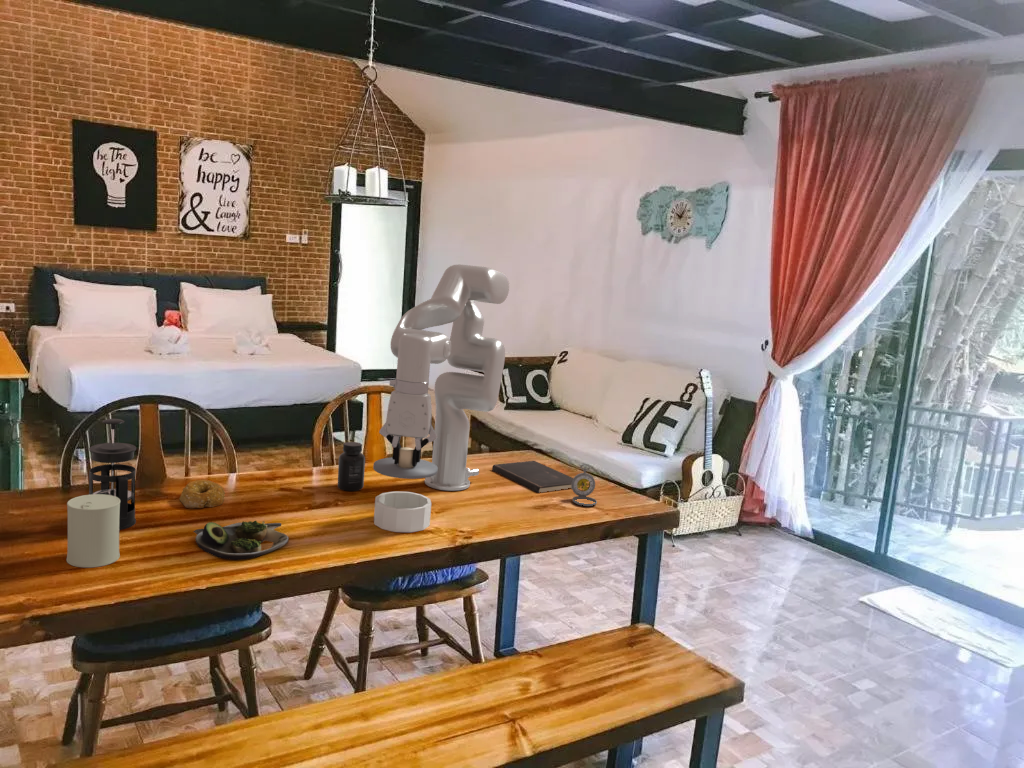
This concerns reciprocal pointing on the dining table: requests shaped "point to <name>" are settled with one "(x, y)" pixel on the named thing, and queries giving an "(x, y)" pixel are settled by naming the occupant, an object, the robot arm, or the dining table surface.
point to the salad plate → (239, 539)
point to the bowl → (402, 511)
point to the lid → (405, 466)
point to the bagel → (202, 494)
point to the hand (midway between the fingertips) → (406, 463)
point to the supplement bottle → (351, 467)
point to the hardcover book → (534, 476)
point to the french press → (115, 455)
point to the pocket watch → (583, 487)
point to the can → (93, 530)
